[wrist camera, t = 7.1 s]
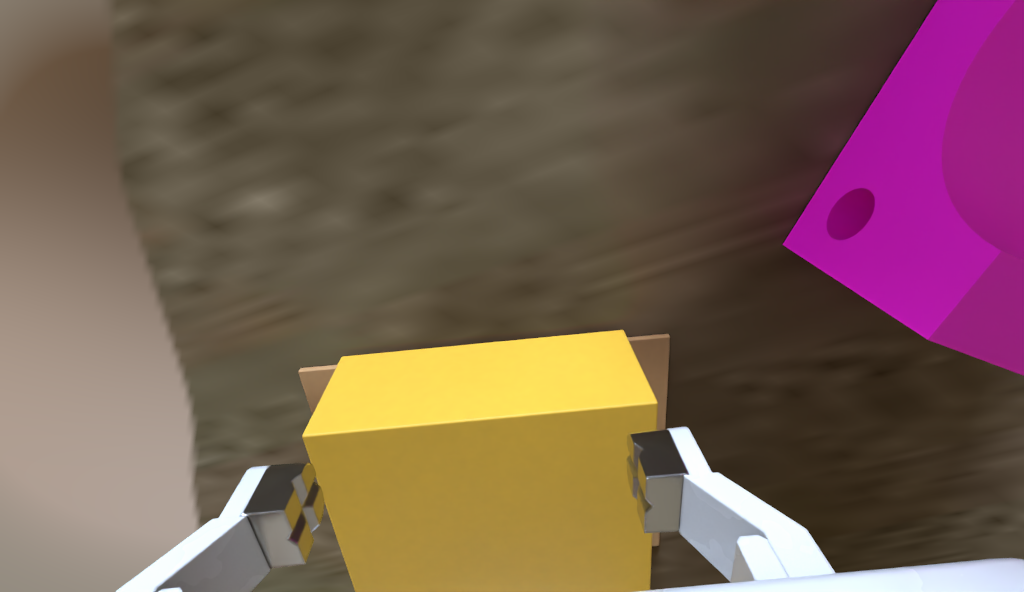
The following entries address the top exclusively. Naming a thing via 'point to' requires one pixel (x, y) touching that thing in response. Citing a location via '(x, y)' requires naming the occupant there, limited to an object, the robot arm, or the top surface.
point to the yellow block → (487, 466)
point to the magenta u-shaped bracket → (937, 187)
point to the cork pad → (646, 348)
